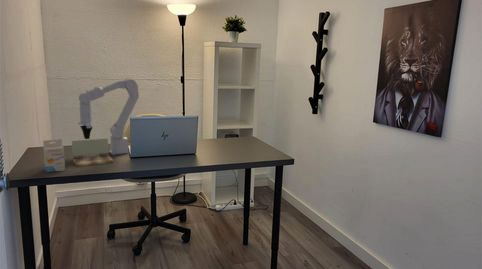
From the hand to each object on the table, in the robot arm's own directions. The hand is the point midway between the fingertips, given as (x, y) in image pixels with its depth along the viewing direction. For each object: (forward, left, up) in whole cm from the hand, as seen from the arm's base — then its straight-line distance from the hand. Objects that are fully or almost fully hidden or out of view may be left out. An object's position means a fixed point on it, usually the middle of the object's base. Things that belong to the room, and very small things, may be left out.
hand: (86, 138), depth 202 cm
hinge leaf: (0, +10, -3) cm, 11 cm away
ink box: (+19, +22, -10) cm, 31 cm away
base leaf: (0, +15, -9) cm, 18 cm away
